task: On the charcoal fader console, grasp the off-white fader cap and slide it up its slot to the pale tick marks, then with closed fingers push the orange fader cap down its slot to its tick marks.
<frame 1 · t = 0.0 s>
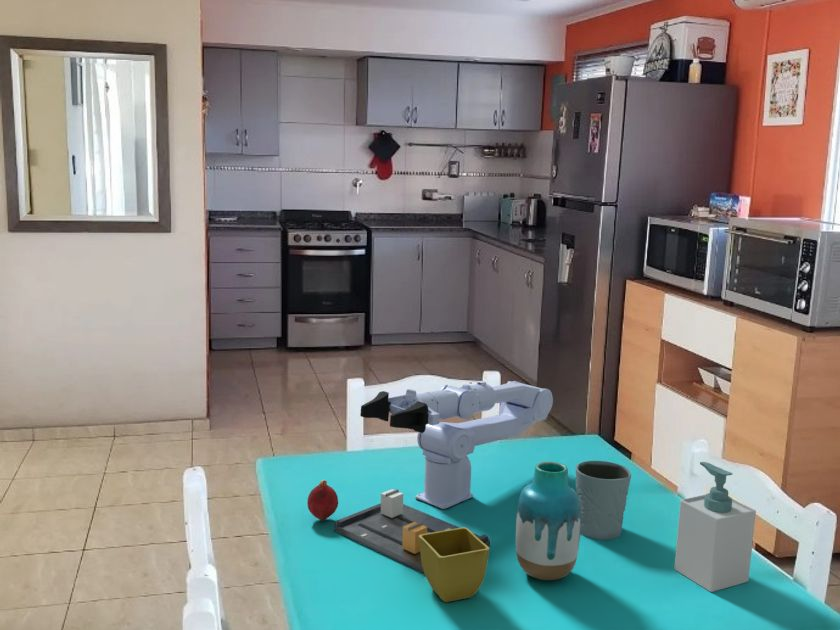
hand: (376, 416, 159), 22 cm above the table, tool horizontal, fingers open, 7 cm apart
console: (411, 538, 159), on the table
grey textured cup: (599, 530, 165), on the table
soap bottle: (710, 576, 148), on the table
onion: (322, 521, 165), on the table
flower pot: (451, 594, 140), on the table
fader a: (391, 502, 165), point 4 cm above the table, slide at 0.0 cm
fader b: (414, 536, 151), point 4 cm above the table, slide at 13.0 cm
vase: (545, 575, 147), on the table
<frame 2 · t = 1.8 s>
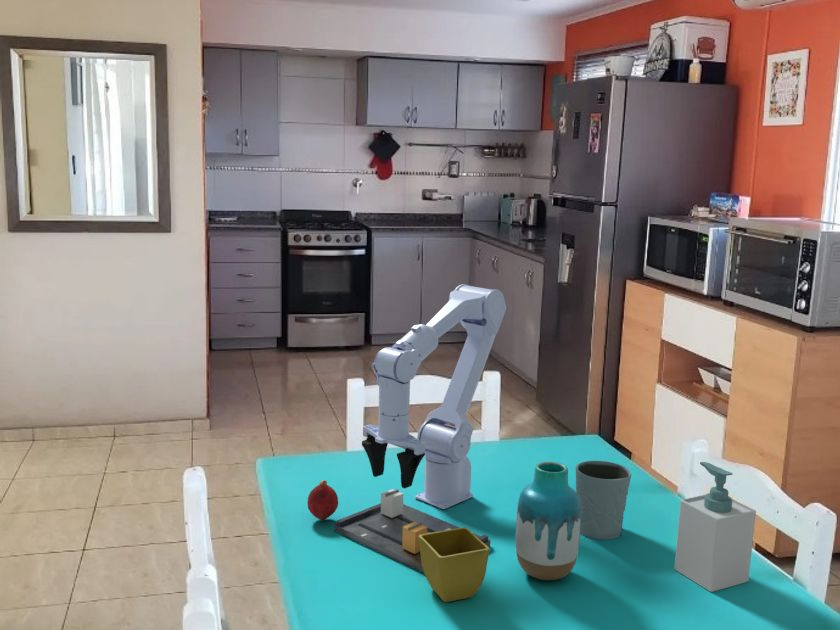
hand: (392, 480, 164), 8 cm above the table, tool pointing down, fingers open, 7 cm apart
nothing on the table moved.
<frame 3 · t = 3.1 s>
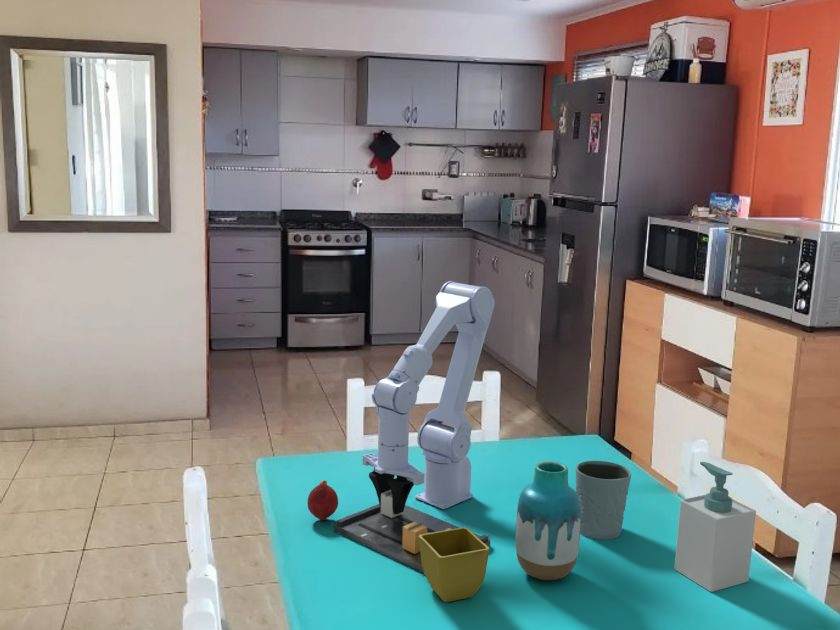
hand: (391, 509, 166), 2 cm above the table, tool pointing down, fingers closed on fader a, 3 cm apart
fader a: (391, 502, 165), point 4 cm above the table, slide at 0.0 cm, touching gripper
everything else where it was.
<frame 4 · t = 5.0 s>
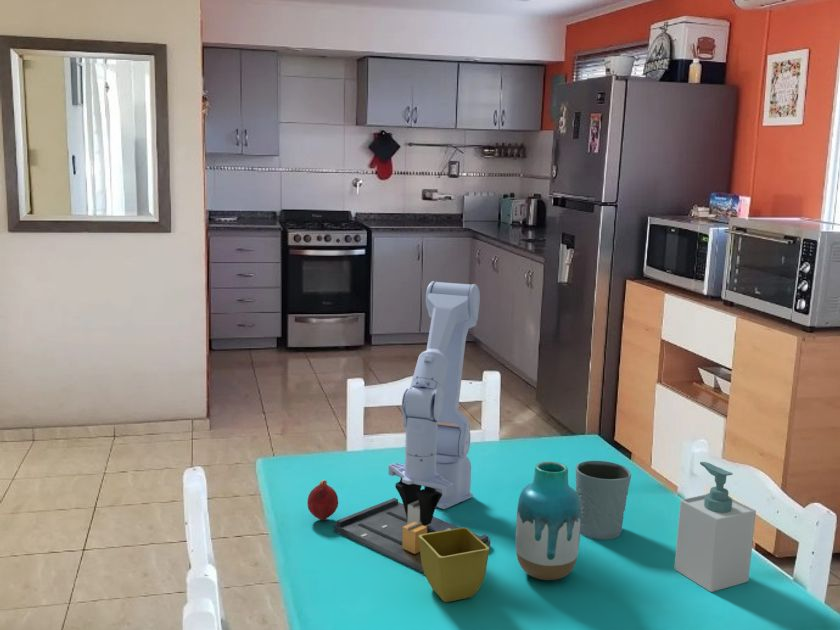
hand: (418, 521, 161), 2 cm above the table, tool pointing down, fingers closed on fader a, 3 cm apart
fader a: (419, 513, 161), point 4 cm above the table, slide at 7.1 cm, touching gripper
everything else where it was.
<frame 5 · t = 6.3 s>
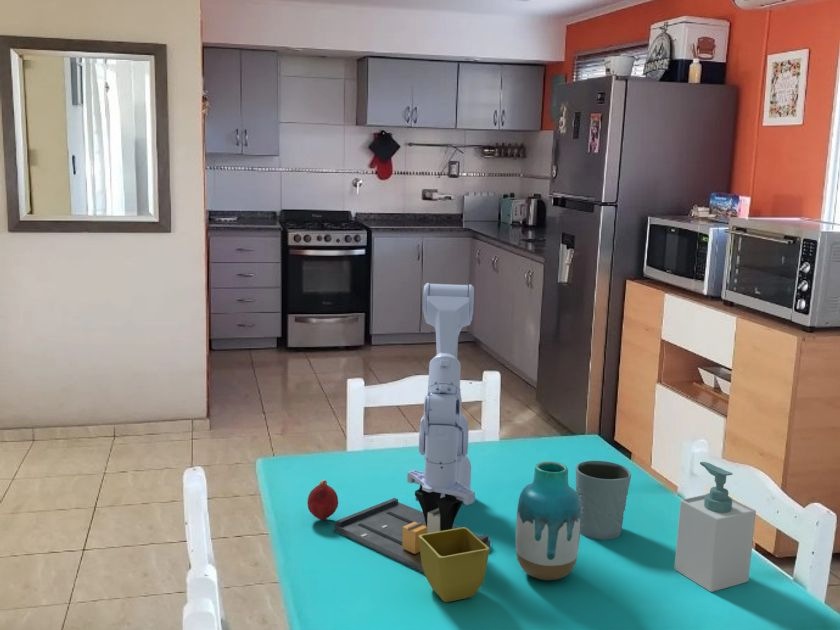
hand: (438, 529, 158), 2 cm above the table, tool pointing down, fingers closed on fader a, 3 cm apart
fader a: (439, 522, 157), point 4 cm above the table, slide at 12.0 cm, touching gripper
everything else where it was.
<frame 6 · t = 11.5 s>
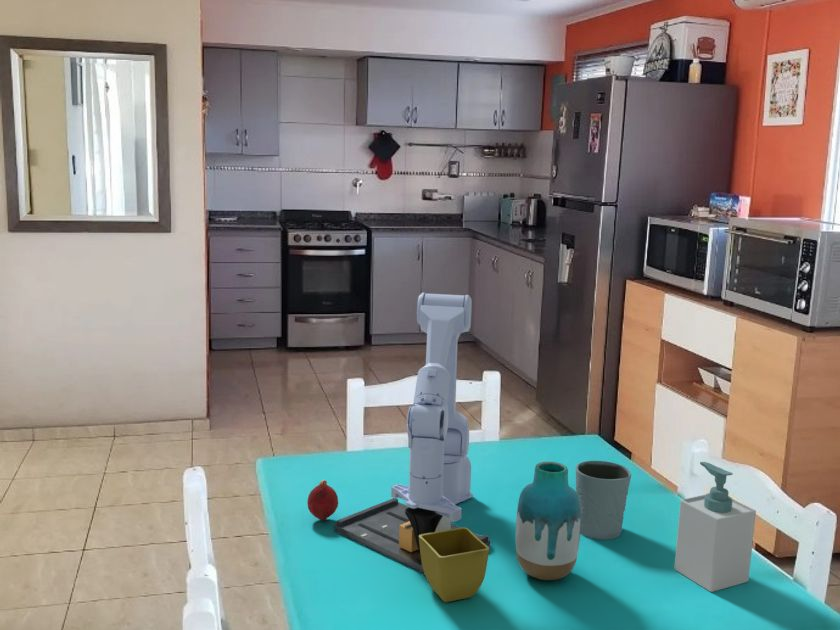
hand: (424, 547, 150), 2 cm above the table, tool pointing down, fingers closed
fader a: (439, 522, 157), point 4 cm above the table, slide at 12.0 cm
fader b: (411, 535, 152), point 4 cm above the table, slide at 12.2 cm, touching gripper
everything else where it was.
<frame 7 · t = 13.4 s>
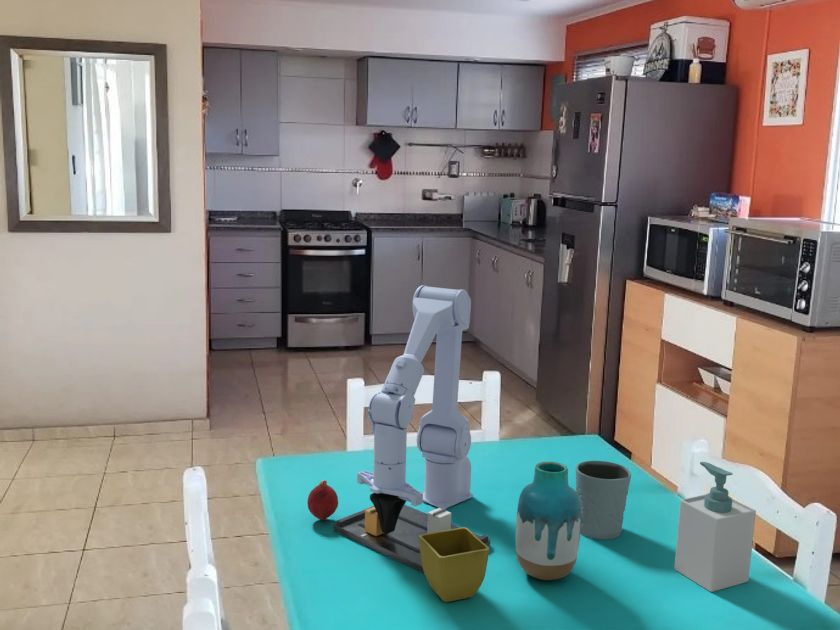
hand: (388, 531, 156), 2 cm above the table, tool pointing down, fingers closed
fader b: (376, 519, 158), point 4 cm above the table, slide at 3.5 cm, touching gripper
everything else where it was.
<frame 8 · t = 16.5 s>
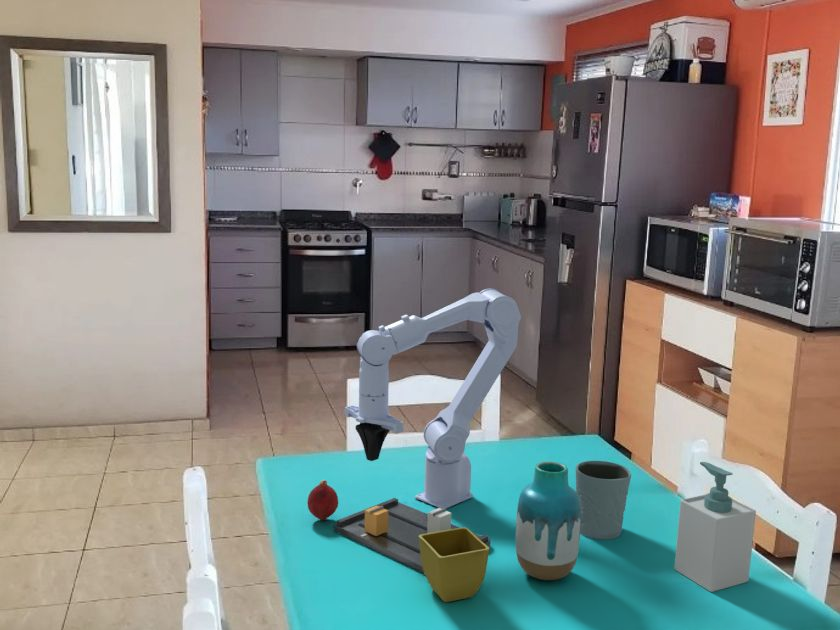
hand: (372, 459, 171), 9 cm above the table, tool pointing down, fingers closed
fader b: (376, 519, 158), point 4 cm above the table, slide at 3.5 cm
everything else where it was.
at the end: fader a slide at 12.0 cm; fader b slide at 3.5 cm; the gripper is holding nothing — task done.
